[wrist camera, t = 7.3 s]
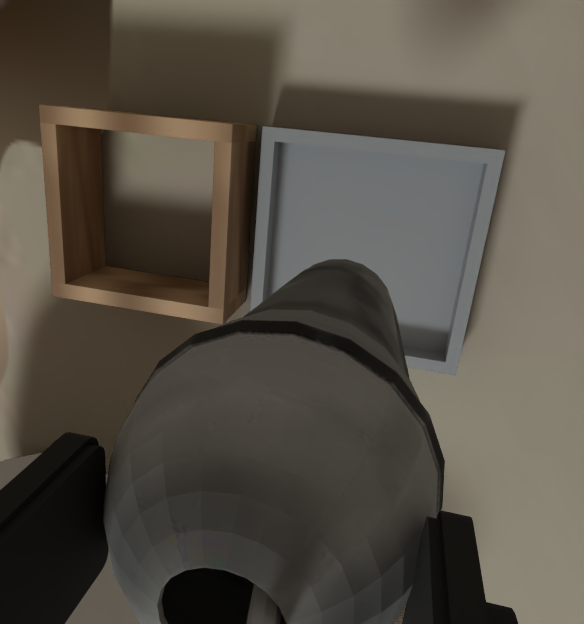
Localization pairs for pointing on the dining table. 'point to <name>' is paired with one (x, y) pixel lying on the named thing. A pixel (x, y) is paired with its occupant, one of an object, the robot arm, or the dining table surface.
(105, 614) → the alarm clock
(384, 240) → the tray
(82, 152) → the holder
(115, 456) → the beverage cup
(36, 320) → the dining table surface
